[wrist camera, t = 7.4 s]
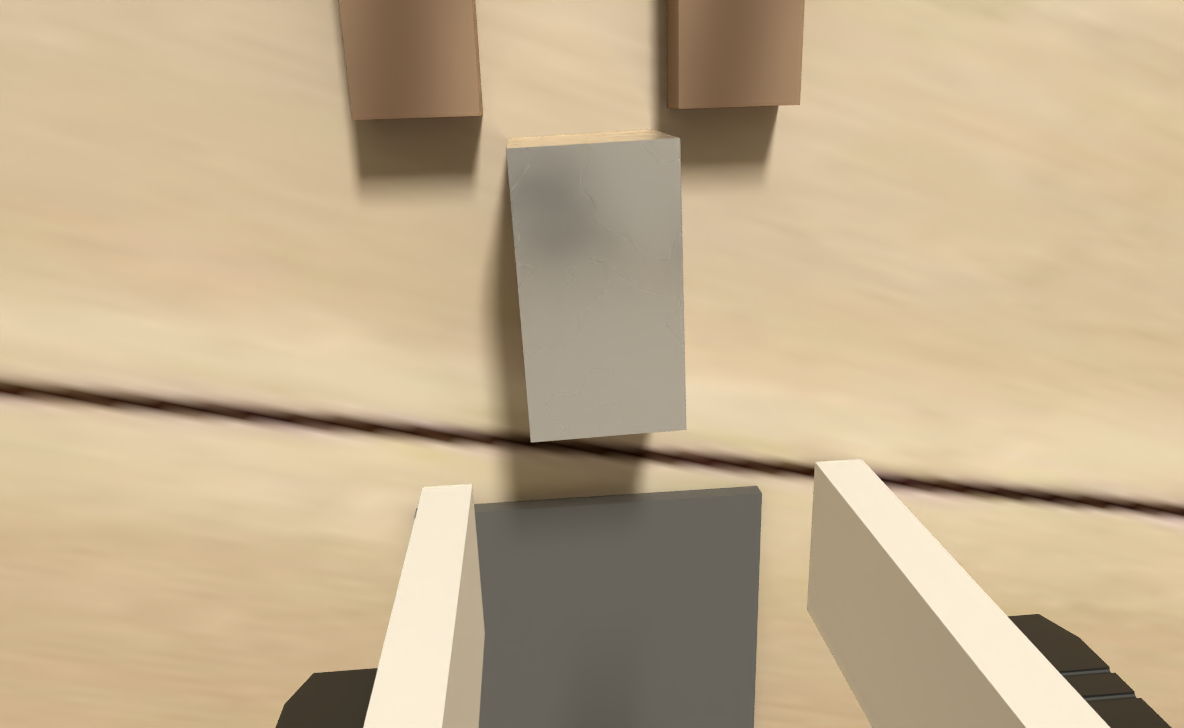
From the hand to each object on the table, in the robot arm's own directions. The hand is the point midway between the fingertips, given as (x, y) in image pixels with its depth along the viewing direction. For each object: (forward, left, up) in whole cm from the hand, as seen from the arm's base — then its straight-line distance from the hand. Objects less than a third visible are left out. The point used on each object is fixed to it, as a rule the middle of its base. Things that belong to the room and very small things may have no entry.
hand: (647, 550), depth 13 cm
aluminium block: (0, +2, -15) cm, 15 cm away
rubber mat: (0, -12, -15) cm, 19 cm away
